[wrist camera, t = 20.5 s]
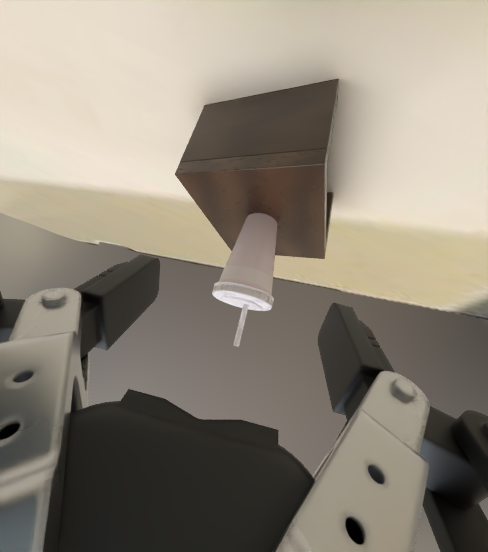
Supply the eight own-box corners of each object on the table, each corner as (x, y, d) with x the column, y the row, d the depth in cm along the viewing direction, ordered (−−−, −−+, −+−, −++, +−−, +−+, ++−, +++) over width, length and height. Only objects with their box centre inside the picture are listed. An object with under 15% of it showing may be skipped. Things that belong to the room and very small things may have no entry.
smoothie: (275, 242, 30) (251, 351, 26) (229, 225, 29) (196, 336, 24) (299, 219, 24) (273, 354, 20) (242, 196, 23) (201, 335, 18)
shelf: (338, 78, 20) (324, 163, 17) (332, 199, 34) (324, 259, 31) (204, 105, 26) (174, 174, 22) (246, 201, 39) (232, 252, 36)
